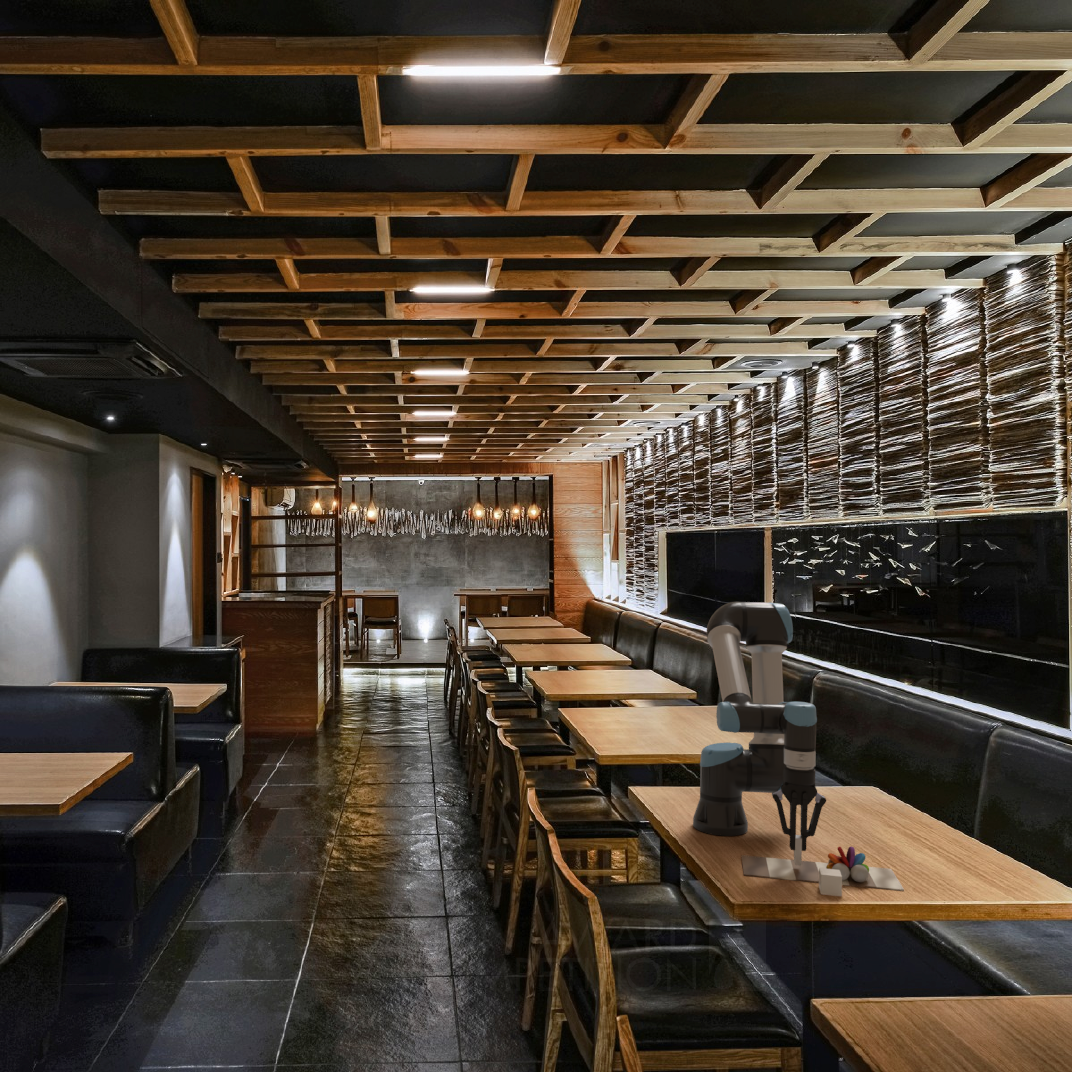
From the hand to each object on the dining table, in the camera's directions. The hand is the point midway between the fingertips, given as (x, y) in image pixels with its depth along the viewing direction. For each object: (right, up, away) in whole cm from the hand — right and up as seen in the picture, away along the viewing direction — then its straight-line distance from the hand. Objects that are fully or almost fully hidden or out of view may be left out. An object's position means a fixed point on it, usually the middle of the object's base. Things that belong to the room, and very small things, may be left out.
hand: (797, 863), depth 209 cm
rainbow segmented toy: (+10, -2, -5) cm, 12 cm away
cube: (+3, -1, -14) cm, 14 cm away
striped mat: (+5, -2, -1) cm, 5 cm away
